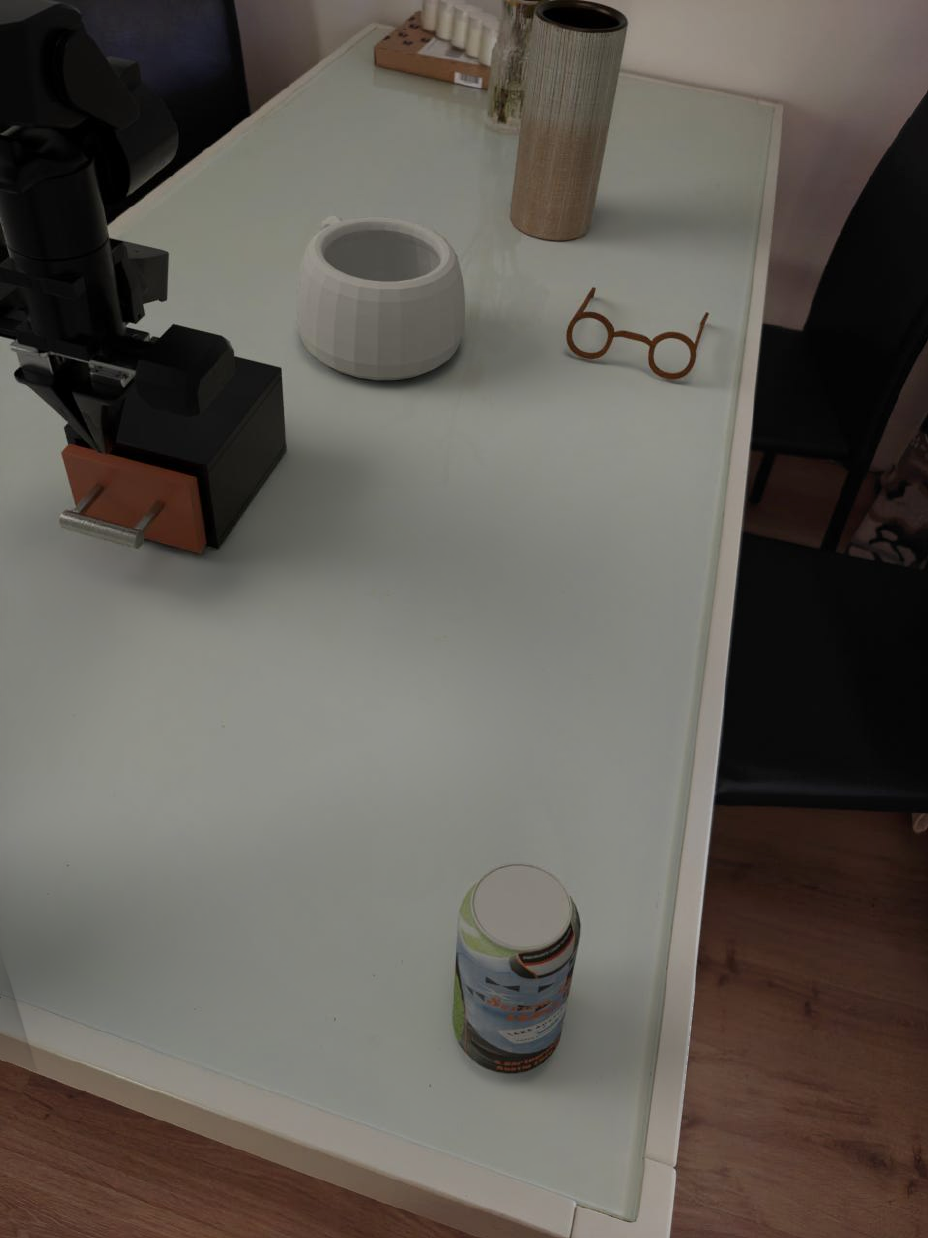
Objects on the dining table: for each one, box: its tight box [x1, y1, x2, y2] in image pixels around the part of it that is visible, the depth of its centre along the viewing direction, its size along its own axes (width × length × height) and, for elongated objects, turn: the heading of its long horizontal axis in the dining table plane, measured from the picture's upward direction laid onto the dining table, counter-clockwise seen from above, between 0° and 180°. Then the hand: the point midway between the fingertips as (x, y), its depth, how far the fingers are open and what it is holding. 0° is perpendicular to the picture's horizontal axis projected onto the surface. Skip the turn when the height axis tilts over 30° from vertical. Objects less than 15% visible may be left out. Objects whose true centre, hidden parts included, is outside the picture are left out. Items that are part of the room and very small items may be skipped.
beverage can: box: [452, 862, 582, 1075], centre depth 51 cm, size 6×7×12 cm
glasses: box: [565, 286, 710, 381], centre depth 103 cm, size 13×13×5 cm
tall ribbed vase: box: [509, 0, 629, 241], centre depth 113 cm, size 10×10×23 cm
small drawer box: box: [63, 335, 288, 551], centre depth 81 cm, size 14×12×9 cm
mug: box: [295, 214, 466, 381], centre depth 98 cm, size 21×17×10 cm
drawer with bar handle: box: [58, 443, 207, 554], centre depth 78 cm, size 17×10×7 cm, turn 164°
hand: (105, 449), depth 70 cm, fingers closed
